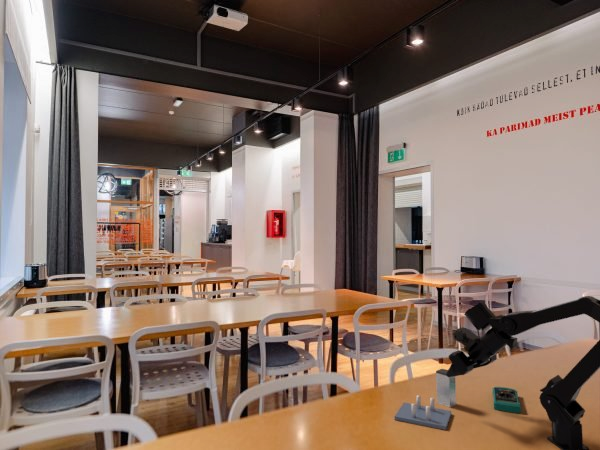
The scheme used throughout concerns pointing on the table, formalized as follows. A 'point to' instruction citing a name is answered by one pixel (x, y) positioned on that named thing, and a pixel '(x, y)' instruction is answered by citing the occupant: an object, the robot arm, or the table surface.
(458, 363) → the robot arm
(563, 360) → the table surface
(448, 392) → the plate
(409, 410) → the grey pegged base
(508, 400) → the digital multimeter
